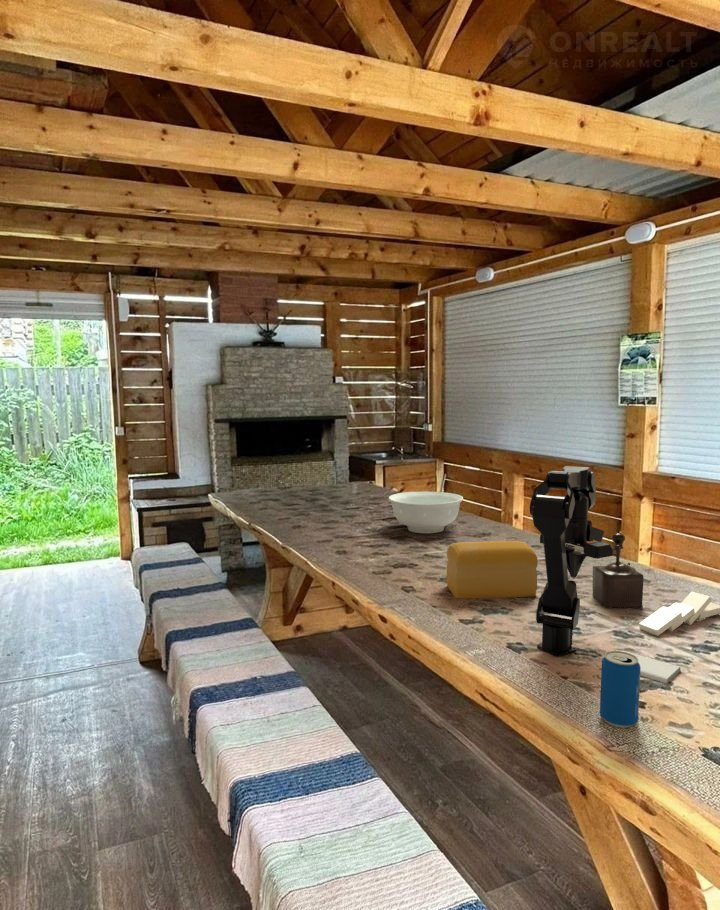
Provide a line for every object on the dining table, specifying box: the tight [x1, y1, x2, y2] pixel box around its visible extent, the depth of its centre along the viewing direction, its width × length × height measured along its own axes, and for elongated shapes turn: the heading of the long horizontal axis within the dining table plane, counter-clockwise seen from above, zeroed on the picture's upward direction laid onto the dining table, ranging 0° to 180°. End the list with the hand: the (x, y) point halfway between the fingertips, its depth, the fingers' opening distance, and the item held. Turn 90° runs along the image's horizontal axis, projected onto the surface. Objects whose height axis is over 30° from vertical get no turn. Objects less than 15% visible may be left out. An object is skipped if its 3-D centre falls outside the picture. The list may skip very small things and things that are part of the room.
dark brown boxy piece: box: [591, 533, 644, 609], centre depth 177 cm, size 16×11×18 cm
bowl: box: [388, 491, 464, 534], centre depth 268 cm, size 32×32×15 cm
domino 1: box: [638, 605, 682, 637], centre depth 156 cm, size 2×5×10 cm
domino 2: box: [667, 602, 695, 632], centre depth 159 cm, size 2×5×10 cm
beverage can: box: [599, 650, 641, 729], centre depth 112 cm, size 6×6×12 cm
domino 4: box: [697, 601, 720, 619], centre depth 165 cm, size 2×5×10 cm
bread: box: [446, 540, 539, 599], centre depth 185 cm, size 24×13×15 cm, turn 95°
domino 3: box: [680, 591, 712, 626], centre depth 162 cm, size 2×5×10 cm
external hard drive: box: [621, 650, 682, 684], centre depth 134 cm, size 2×8×12 cm
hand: (573, 577), depth 156 cm, fingers closed
